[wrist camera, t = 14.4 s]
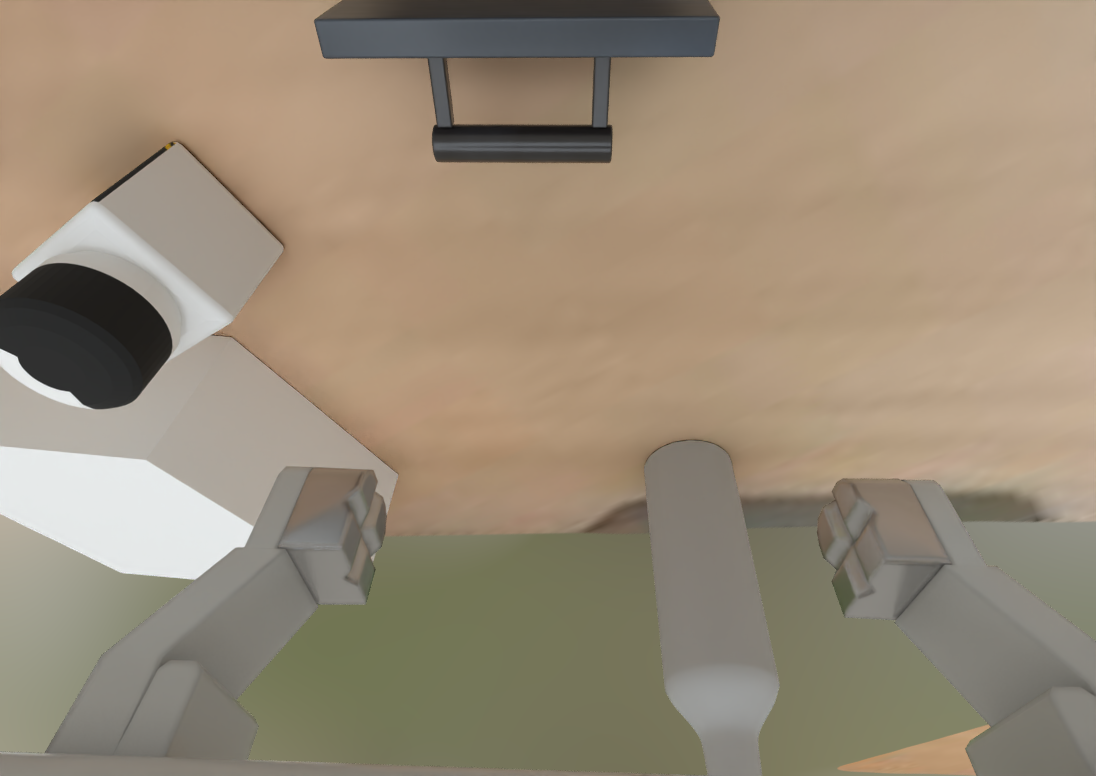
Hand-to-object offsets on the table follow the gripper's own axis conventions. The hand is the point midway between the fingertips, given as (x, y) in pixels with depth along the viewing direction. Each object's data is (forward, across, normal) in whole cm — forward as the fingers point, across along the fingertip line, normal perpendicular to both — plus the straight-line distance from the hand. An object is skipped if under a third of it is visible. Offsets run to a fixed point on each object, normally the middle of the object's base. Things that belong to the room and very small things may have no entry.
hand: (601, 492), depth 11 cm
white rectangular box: (+23, +26, +21) cm, 41 cm away
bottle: (+23, -9, +27) cm, 36 cm away
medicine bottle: (+23, +21, +7) cm, 32 cm away
